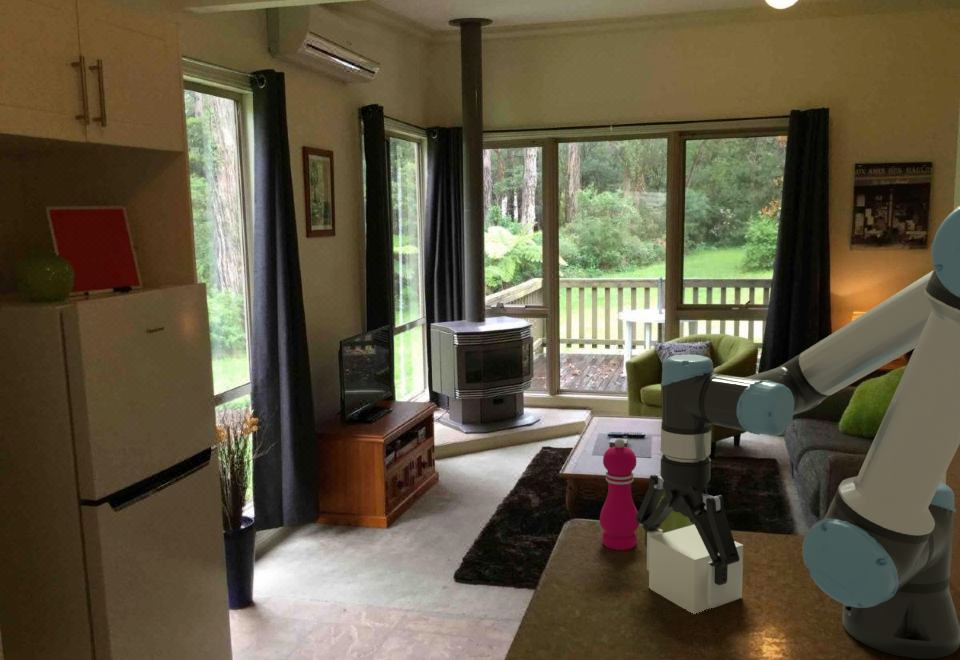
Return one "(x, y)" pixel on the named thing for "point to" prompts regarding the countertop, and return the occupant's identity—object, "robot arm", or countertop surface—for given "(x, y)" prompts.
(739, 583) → the cream cuboid
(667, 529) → the plant pot
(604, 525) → the pepper mill
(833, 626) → the countertop surface
